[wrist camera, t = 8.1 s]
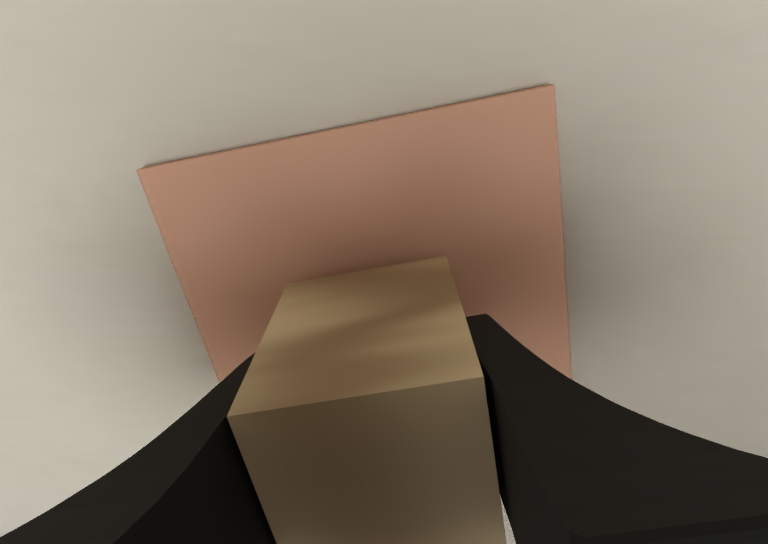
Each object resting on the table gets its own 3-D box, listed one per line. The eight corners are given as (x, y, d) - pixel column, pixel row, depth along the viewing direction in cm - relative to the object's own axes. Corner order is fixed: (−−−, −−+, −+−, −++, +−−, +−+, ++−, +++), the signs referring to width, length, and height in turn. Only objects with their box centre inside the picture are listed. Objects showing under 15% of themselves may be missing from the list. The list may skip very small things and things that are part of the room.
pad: (549, 84, 11) (554, 85, 11) (570, 422, 15) (574, 431, 15) (143, 167, 12) (136, 170, 12) (259, 468, 16) (257, 478, 16)
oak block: (446, 255, 12) (483, 376, 7) (467, 389, 13) (508, 559, 9) (286, 284, 12) (226, 416, 8) (324, 411, 14) (293, 586, 9)
